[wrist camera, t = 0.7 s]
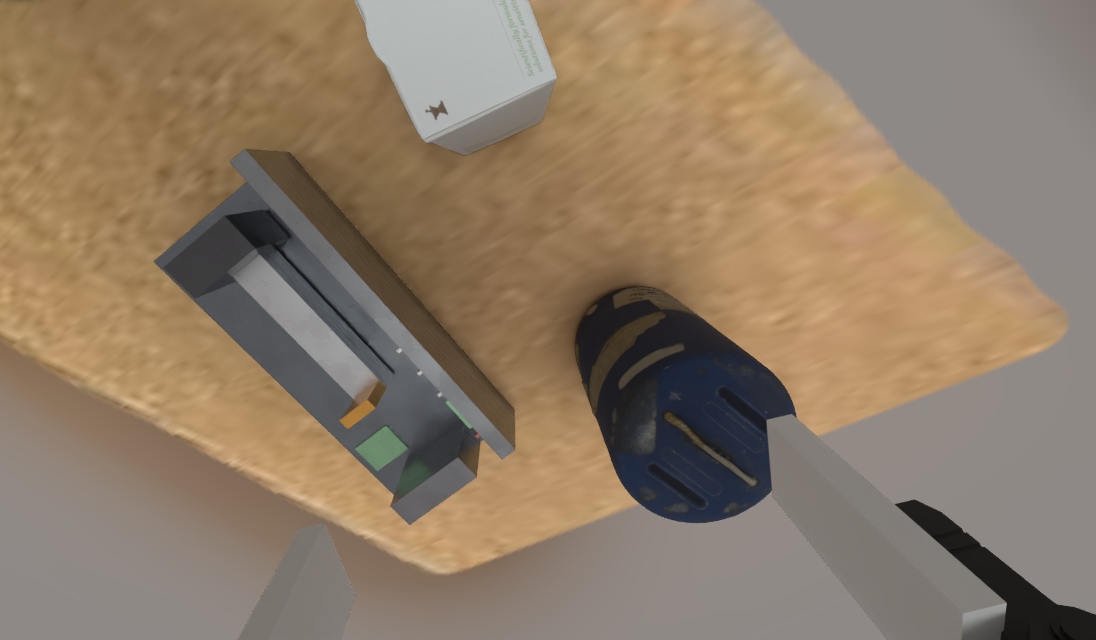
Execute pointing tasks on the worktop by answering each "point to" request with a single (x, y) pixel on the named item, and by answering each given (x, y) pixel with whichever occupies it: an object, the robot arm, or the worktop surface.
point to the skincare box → (463, 66)
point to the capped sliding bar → (282, 301)
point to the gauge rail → (381, 323)
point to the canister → (678, 406)
